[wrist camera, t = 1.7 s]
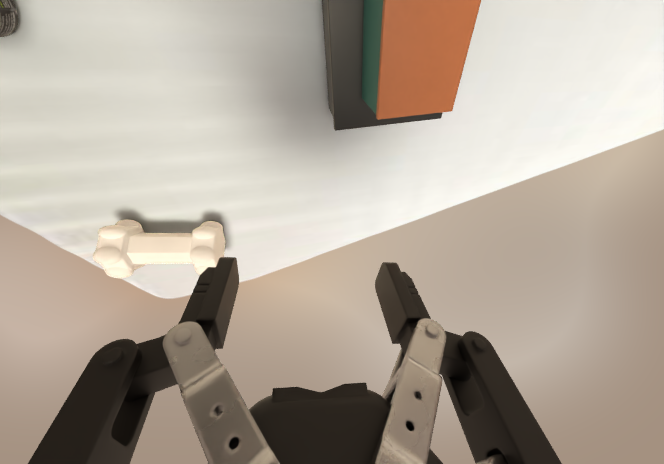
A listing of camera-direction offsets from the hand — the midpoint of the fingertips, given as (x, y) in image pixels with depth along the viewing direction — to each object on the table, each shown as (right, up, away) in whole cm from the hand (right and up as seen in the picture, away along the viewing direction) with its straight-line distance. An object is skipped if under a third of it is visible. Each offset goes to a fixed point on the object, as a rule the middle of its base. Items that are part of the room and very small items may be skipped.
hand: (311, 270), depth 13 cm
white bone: (-24, +3, +26) cm, 36 cm away
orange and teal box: (+7, +19, +7) cm, 21 cm away
